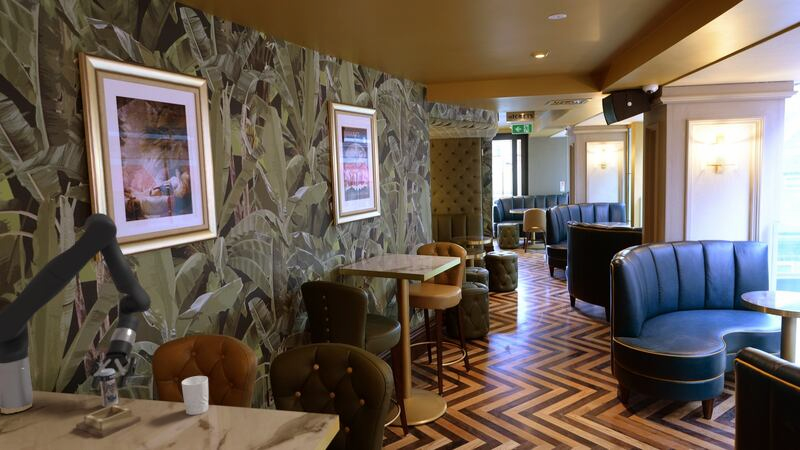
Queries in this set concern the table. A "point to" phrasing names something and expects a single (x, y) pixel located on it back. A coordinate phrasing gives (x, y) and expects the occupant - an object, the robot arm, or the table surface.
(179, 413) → the table surface
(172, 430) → the table surface
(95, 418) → the caddy
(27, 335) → the robot arm
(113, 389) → the beer can
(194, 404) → the white cup
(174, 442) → the table surface
